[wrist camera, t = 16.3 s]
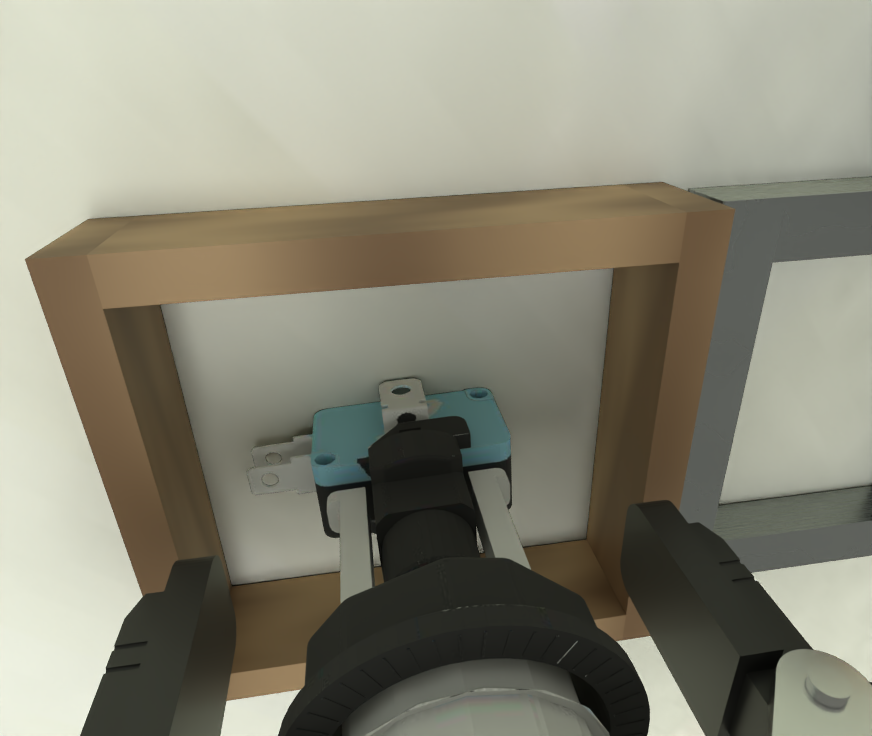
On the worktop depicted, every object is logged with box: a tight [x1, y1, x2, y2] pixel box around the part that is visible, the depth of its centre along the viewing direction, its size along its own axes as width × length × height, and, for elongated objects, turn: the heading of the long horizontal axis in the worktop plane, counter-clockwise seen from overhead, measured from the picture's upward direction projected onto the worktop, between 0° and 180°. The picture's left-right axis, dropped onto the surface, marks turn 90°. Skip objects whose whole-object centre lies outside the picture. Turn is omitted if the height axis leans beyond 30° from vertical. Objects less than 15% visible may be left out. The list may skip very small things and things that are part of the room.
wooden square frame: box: [25, 182, 735, 701], centre depth 15 cm, size 13×12×3 cm
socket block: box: [679, 177, 872, 573], centre depth 17 cm, size 10×12×2 cm
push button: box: [247, 378, 650, 736], centre depth 12 cm, size 7×5×10 cm
